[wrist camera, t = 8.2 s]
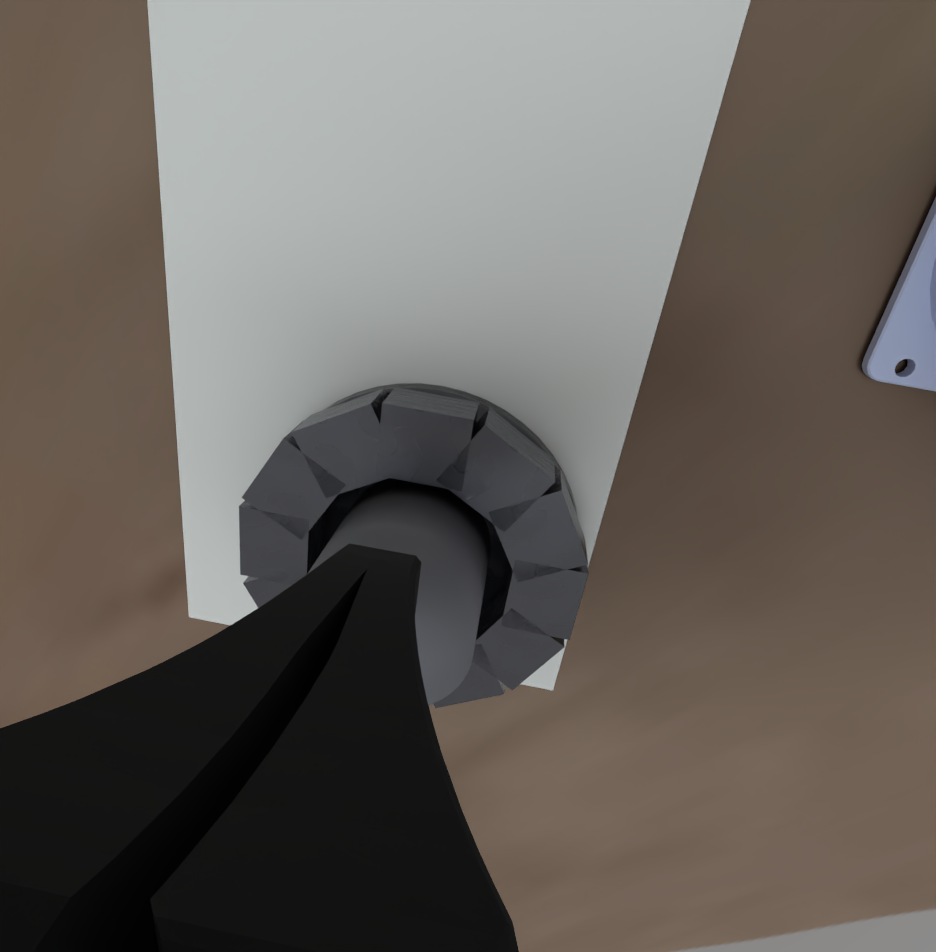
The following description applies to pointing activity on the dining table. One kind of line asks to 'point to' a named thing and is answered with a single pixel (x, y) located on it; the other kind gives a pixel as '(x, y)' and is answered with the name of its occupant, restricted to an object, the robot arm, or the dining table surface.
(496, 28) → the mat
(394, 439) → the toothed grey gear
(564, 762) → the dining table surface
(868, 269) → the dining table surface
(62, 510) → the dining table surface
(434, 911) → the robot arm
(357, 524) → the cap
